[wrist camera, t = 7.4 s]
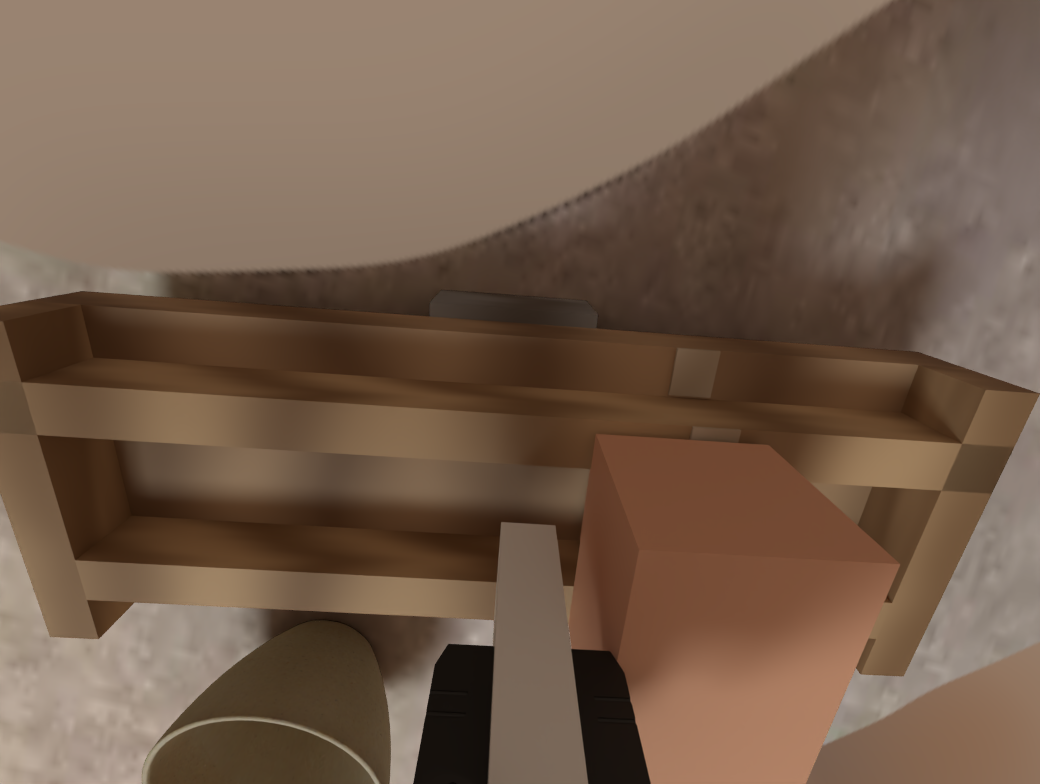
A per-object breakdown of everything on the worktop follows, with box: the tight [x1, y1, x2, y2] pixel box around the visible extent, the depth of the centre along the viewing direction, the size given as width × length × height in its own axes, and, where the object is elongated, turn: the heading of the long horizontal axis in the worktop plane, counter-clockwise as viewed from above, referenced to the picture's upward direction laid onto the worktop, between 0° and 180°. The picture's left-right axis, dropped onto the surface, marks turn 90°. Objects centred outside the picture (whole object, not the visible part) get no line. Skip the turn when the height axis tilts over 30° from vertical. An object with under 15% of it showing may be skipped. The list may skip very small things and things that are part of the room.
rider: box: [568, 434, 900, 784], centre depth 14 cm, size 5×7×7 cm
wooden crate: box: [0, 290, 1040, 676], centre depth 18 cm, size 30×12×8 cm, turn 86°
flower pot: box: [142, 620, 391, 784], centre depth 23 cm, size 10×10×7 cm
